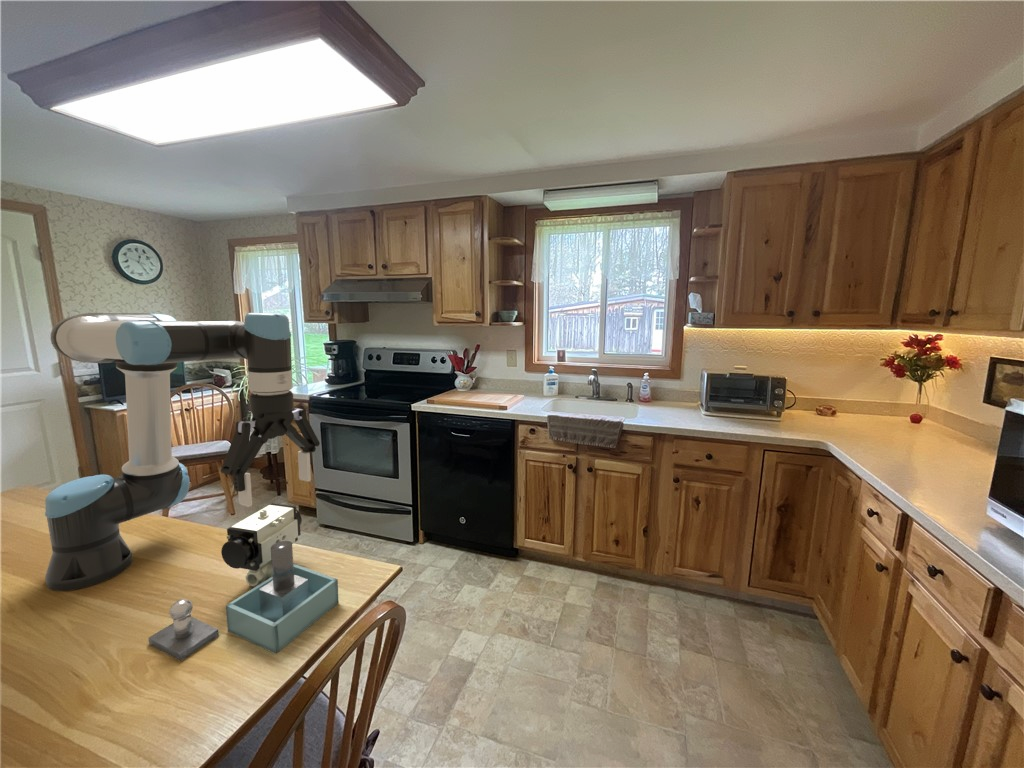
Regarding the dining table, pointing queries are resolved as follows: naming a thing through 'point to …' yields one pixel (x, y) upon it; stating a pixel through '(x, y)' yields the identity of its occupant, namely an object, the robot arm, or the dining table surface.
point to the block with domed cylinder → (282, 585)
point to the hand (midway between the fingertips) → (277, 491)
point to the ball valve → (260, 540)
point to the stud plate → (184, 643)
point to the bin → (277, 635)
